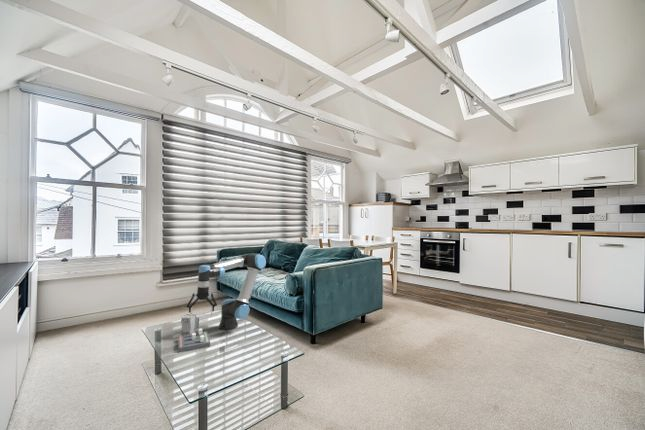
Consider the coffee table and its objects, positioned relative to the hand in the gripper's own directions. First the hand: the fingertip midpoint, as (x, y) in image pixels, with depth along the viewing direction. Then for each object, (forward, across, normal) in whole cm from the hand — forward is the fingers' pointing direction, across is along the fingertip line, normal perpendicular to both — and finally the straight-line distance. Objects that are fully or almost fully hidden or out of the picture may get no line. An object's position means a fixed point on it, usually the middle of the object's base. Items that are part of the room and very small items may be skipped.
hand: (201, 316), depth 201 cm
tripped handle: (+17, -4, +5) cm, 18 cm away
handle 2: (+17, +2, -1) cm, 17 cm away
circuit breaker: (+20, -7, +25) cm, 33 cm away
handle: (+17, 0, +12) cm, 21 cm away
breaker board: (+20, -4, +5) cm, 21 cm away
